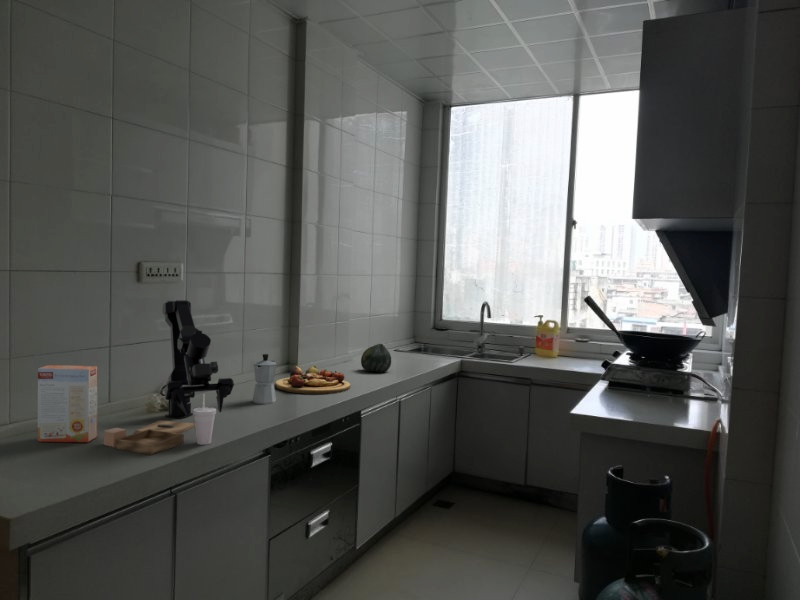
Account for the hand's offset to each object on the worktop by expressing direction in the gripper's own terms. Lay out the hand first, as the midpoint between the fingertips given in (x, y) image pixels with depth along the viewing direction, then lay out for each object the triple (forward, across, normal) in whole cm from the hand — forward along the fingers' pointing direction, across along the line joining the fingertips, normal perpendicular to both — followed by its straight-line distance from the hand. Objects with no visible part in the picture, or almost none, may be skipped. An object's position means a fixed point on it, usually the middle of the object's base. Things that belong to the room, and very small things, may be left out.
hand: (204, 413), depth 173 cm
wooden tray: (+4, -14, +8) cm, 17 cm away
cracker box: (-7, -33, +19) cm, 39 cm away
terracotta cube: (-3, -22, +9) cm, 24 cm away
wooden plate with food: (-39, +61, +51) cm, 88 cm away
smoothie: (+6, 0, +6) cm, 9 cm away
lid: (-7, -7, +19) cm, 21 cm away
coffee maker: (-26, +33, +38) cm, 56 cm away
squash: (-56, +105, +68) cm, 137 cm away
